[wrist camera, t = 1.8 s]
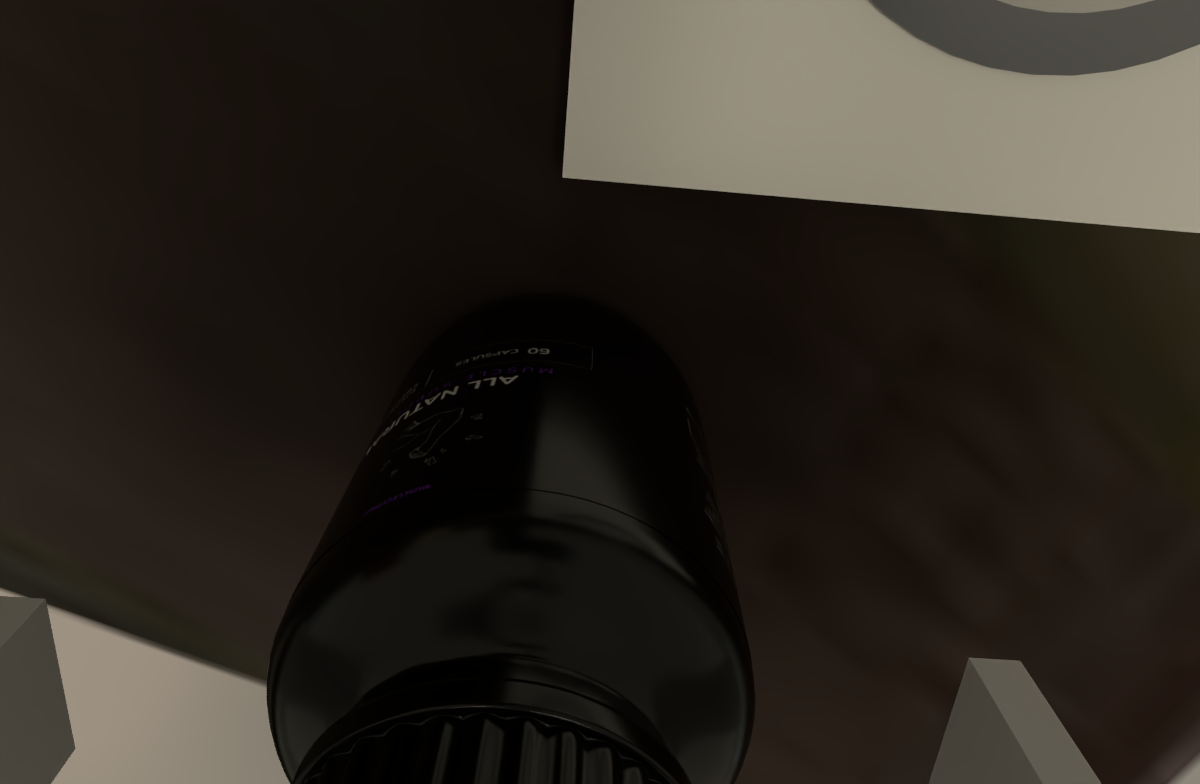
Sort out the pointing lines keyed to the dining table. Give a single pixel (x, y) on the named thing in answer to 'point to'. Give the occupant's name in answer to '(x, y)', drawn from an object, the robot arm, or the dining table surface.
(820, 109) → the record player
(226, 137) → the dining table surface
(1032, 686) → the robot arm
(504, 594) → the supplement bottle
